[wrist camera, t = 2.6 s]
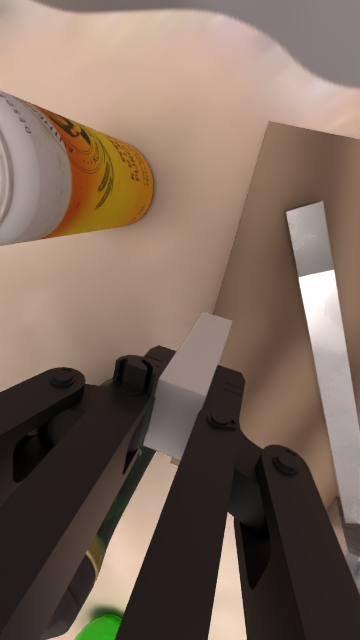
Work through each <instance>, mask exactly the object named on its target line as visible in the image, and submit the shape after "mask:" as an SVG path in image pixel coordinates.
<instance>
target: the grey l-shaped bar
mask: <svg viewBox="0 0 360 640" xmlns="http://www.w3.org/2000/svg"><path fill="white" fill-rule="evenodd" d="M326 511H327V514H328V516H329V519H330V521H331V524H332V526H333V529H334V531H335V534H336V536H337V539H338V541H339V544H340V546H341V549H342V551H343V554H344V556H345V559H346V561H347V564H348V566H349V569H350V571H351V574H352V576H353V579H354V581H355V584H356V586H357V589H358V591H359V593H360V523H345V518H344V514H343V510H342V506H341V502H340V498H339V497H337V496H335V497H334V499H333V501H332V502H331V504H330V506H329V507H328V509H327V510H326Z"/></svg>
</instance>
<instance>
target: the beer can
mask: <svg viewBox="0 0 360 640" xmlns="http://www.w3.org/2000/svg"><path fill="white" fill-rule="evenodd" d="M152 195H153V178H152V174H151V170H150V168H149V165H148V163H147V161H146V160H145V158H144V157H143V156H142V154H141V153H140V152H139V151H138V150H137V149H135V148H134V147H133V146H131V145H129V144H127V143H124V142H122V141H120V140H117V139H115V138H112V137H110V136H108V135H105V134H103V133H100V132H98V131H96V130H93V129H91V128H89V127H86V126H84V125H81V124H79V123H77V122H74V121H72V120H69V119H67V118H65V117H62V116H60V115H58V114H55V113H53V112H50V111H48V110H46V109H43V108H41V107H38V106H36V105H34V104H31V103H29V102H27V101H24V100H22V99H19V98H17V97H15V96H12V95H10V94H7V93H5V92H3V91H0V246H2V245H9V244H15V243H21V242H28V241H34V240H40V239H47V238H53V237H59V236H65V235H72V234H78V233H84V232H91V231H97V230H103V229H110V228H116V227H122V226H127V225H130V224H133V223H134V222H136V221H137V220H139V219H140V218H141V217H142V216H143V215H144V214H145V212H146V211H147V209H148V207H149V205H150V202H151V199H152Z"/></svg>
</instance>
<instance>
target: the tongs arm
mask: <svg viewBox="0 0 360 640" xmlns="http://www.w3.org/2000/svg"><path fill="white" fill-rule="evenodd" d="M284 214H285V219H286V224H287V229H288V234H289V240H290V245H291V250H292V255H293V260H294V266H295V271H296V276H297V281H298V286H299V291H300V297H301V302H302V307H303V312H304V317H305V323H306V328H307V333H308V338H309V343H310V348H311V354H312V359H313V364H314V369H315V374H316V380H317V385H318V390H319V395H320V400H321V405H322V411H323V416H324V421H325V426H326V431H327V437H328V442H329V447H330V452H331V457H332V462H333V468H334V473H335V478H336V483H337V488H338V493H339V497H340V502H341V506H342V510H343V514H344V518H345V523H360V430H359V424H358V417H357V411H356V405H355V399H354V392H353V386H352V380H351V374H350V367H349V361H348V355H347V349H346V342H345V336H344V330H343V324H342V317H341V311H340V305H339V299H338V292H337V286H336V280H335V274H334V267H333V261H332V255H331V249H330V242H329V236H328V230H327V224H326V217H325V211H324V205H323V201H315V202H312V203H309V204H305V205H302V206H298V207H295V208H291V209H288V210H285V211H284Z"/></svg>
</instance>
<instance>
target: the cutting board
mask: <svg viewBox="0 0 360 640" xmlns="http://www.w3.org/2000/svg"><path fill="white" fill-rule="evenodd" d="M315 201H323V205H324V211H325V217H326V224H327V230H328V236H329V242H330V249H331V255H332V261H333V267H334V274H335V280H336V286H337V292H338V299H339V305H340V311H341V317H342V324H343V330H344V336H345V342H346V349H347V355H348V361H349V367H350V374H351V380H352V386H353V392H354V399H355V405H356V411H357V417H358V424H359V430H360V140H359V139H354V138H349V137H344V136H339V135H334V134H329V133H324V132H319V131H314V130H310V129H305V128H300V127H295V126H290V125H285V124H280V123H275V122H270V121H269V123H268V126H267V130H266V133H265V137H264V140H263V144H262V147H261V151H260V154H259V157H258V161H257V164H256V168H255V171H254V175H253V178H252V182H251V185H250V189H249V192H248V196H247V199H246V202H245V206H244V209H243V213H242V216H241V220H240V223H239V227H238V230H237V234H236V237H235V241H234V244H233V248H232V251H231V254H230V258H229V261H228V265H227V268H226V272H225V275H224V279H223V282H222V286H221V289H220V293H219V296H218V300H217V303H216V306H215V310H214V313H213V315H216V316H219V317H222V318H225V319H229V320H232V324H231V327H230V331H229V334H228V337H227V340H226V343H225V346H224V350H223V353H222V356H221V359H220V362H219V365H220V366H223V367H226V368H229V369H232V370H235V371H238V372H241V373H242V375H243V377H244V379H245V387H244V393H243V399H242V405H241V411H240V417H239V423H240V428H241V430H242V432H243V433H244V435H245V436H246V437H247V438H248V439H249V440H250V441H252V442H253V443H254V444H256V445H257V446H259V447H260V448H262V449H264V448H265V447H266V446H269V445H271V444H273V445H282V446H284V447H287V448H289V449H291V450H293V451H294V452H296V453H297V454H298V455H299V456H300V457H301V458H302V459H304V460H305V462H306V464H307V465H308V467H309V469H310V472H311V474H312V476H313V479H314V481H315V484H316V486H317V489H318V491H319V494H320V496H321V499H322V501H323V504H324V506H325V509H326V510H327V509H328V507H329V506H330V504H331V502H332V501H333V499H334V497H335V496H337V497H339V493H338V488H337V483H336V478H335V473H334V468H333V462H332V457H331V452H330V447H329V442H328V437H327V431H326V426H325V421H324V416H323V411H322V405H321V400H320V395H319V390H318V385H317V380H316V374H315V369H314V364H313V359H312V354H311V348H310V343H309V338H308V333H307V328H306V323H305V317H304V312H303V307H302V302H301V297H300V291H299V286H298V281H297V276H296V271H295V266H294V260H293V255H292V250H291V245H290V240H289V234H288V229H287V224H286V219H285V214H284V211H285V210H288V209H291V208H295V207H298V206H302V205H305V204H309V203H312V202H315ZM180 461H181V460H179V459H176V458H174V457H172V459H171V462H170V463H172V464H175V465H177V466H179V464H180ZM339 498H340V497H339Z"/></svg>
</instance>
